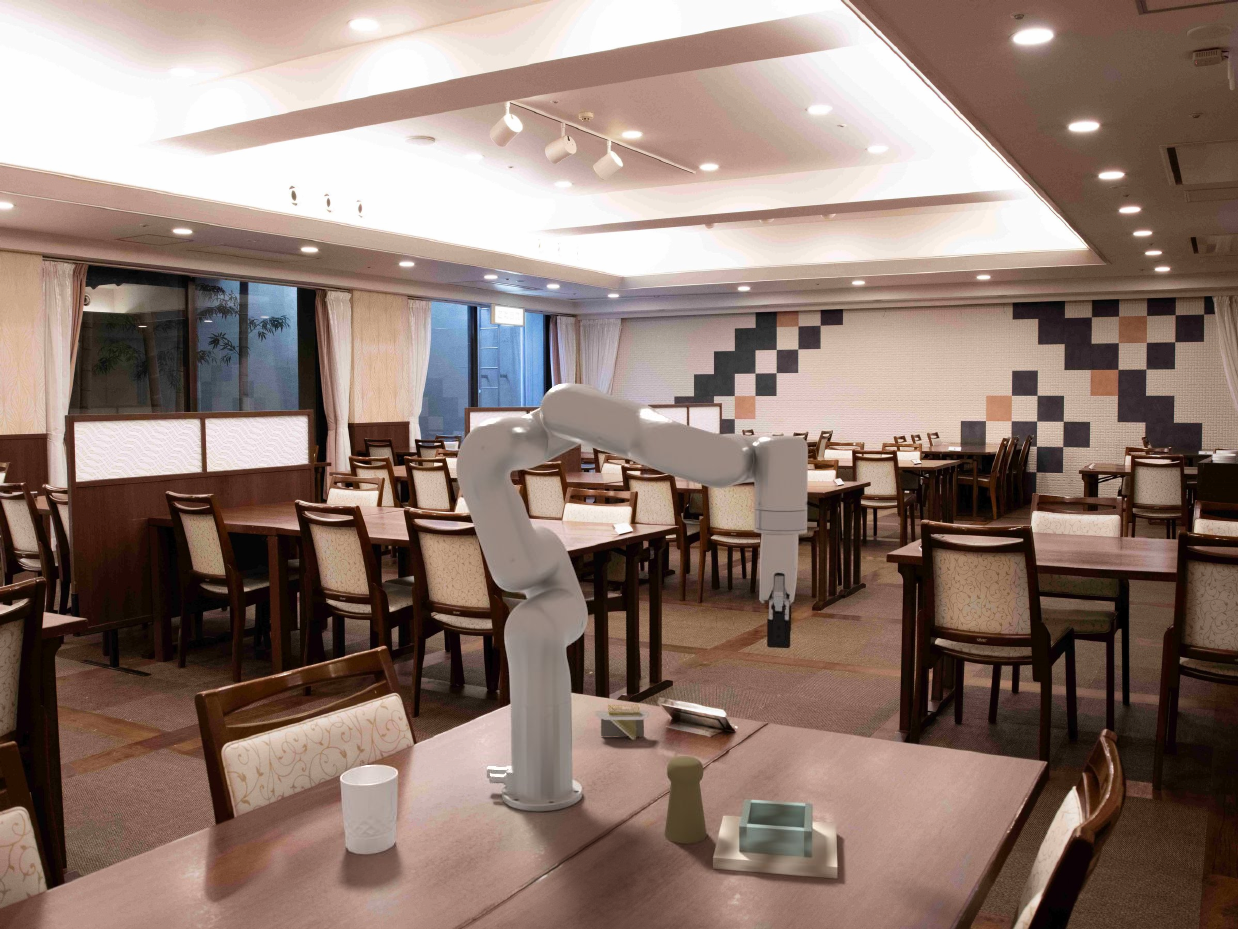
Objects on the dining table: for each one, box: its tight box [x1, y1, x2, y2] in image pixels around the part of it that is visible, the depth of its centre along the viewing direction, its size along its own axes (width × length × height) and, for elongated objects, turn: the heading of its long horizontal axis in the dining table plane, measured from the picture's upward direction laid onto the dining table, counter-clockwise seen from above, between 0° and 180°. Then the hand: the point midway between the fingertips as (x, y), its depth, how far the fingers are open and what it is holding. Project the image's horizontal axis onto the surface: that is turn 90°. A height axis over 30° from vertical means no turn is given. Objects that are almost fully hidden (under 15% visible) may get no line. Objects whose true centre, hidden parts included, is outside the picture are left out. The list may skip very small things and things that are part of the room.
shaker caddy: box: [712, 798, 838, 879], centre depth 137 cm, size 16×14×5 cm
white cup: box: [339, 764, 399, 855], centre depth 141 cm, size 8×8×10 cm
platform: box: [595, 703, 650, 740], centre depth 186 cm, size 12×18×7 cm, turn 90°
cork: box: [664, 755, 708, 845], centre depth 143 cm, size 6×6×11 cm
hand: (779, 639), depth 145 cm, fingers open, 9 cm apart
